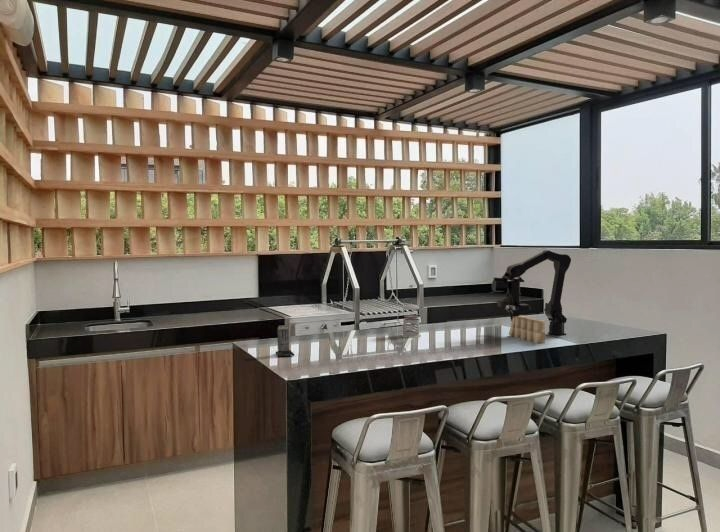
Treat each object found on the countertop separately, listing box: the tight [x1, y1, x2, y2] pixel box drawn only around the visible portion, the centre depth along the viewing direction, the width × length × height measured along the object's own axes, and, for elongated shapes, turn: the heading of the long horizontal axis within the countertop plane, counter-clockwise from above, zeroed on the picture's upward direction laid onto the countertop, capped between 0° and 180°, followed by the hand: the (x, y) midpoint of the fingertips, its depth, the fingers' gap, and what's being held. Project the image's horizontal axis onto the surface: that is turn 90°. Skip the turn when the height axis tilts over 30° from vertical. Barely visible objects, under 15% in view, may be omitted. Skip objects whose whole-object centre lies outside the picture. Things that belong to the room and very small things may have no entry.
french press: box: [397, 284, 422, 339], centre depth 268 cm, size 10×12×25 cm
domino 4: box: [526, 318, 540, 342], centre depth 255 cm, size 5×2×10 cm, turn 109°
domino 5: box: [532, 319, 546, 344], centre depth 250 cm, size 5×2×10 cm, turn 109°
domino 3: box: [520, 317, 533, 341], centre depth 259 cm, size 5×2×10 cm, turn 109°
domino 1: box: [508, 316, 517, 337], centre depth 267 cm, size 5×2×10 cm, turn 109°
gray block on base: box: [274, 324, 295, 357], centre depth 225 cm, size 9×8×12 cm
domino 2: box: [514, 315, 528, 339], centre depth 264 cm, size 5×2×10 cm, turn 109°
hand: (513, 323), depth 269 cm, fingers closed
